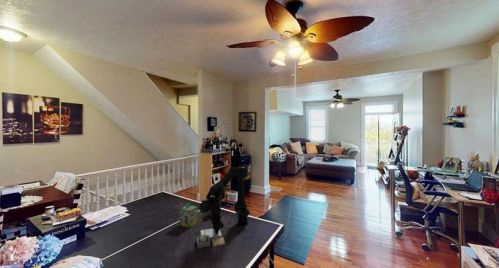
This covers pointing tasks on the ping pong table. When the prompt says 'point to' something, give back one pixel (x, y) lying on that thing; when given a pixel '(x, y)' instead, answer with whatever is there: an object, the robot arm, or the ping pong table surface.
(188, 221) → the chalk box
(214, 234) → the chalk stick
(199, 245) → the button housing
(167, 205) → the ping pong table surface
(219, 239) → the cork pad
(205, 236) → the button
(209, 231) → the sheet
